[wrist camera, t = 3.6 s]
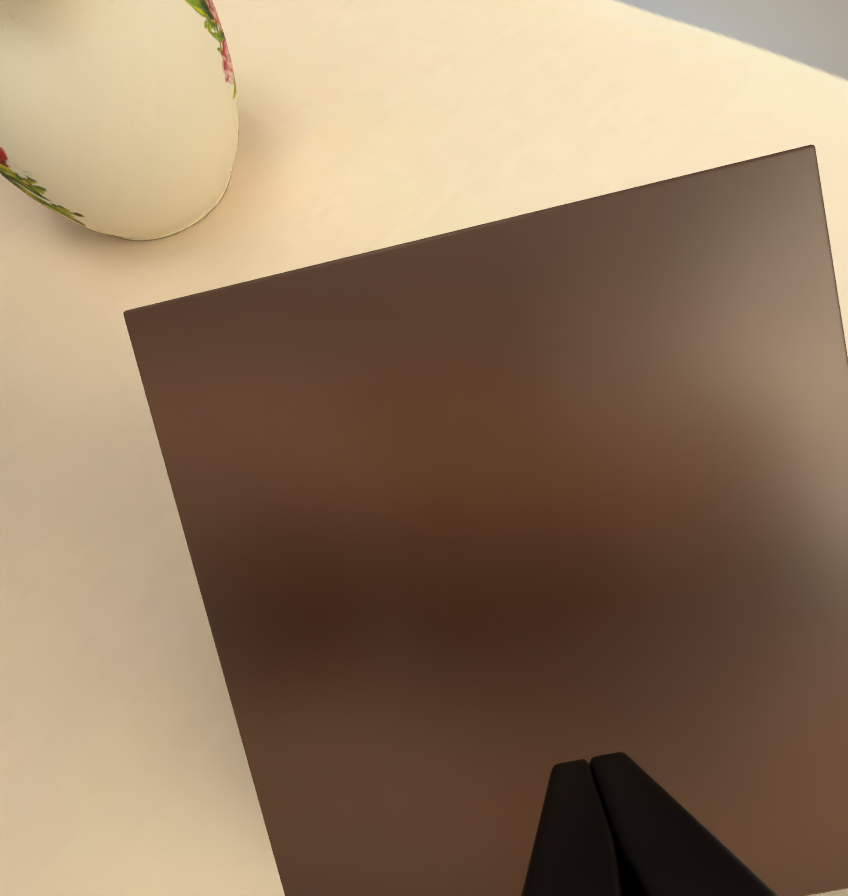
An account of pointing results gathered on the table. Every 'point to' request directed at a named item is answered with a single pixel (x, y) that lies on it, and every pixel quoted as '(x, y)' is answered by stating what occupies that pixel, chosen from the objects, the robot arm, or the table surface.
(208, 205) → the pitcher
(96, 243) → the table surface
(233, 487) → the lid
